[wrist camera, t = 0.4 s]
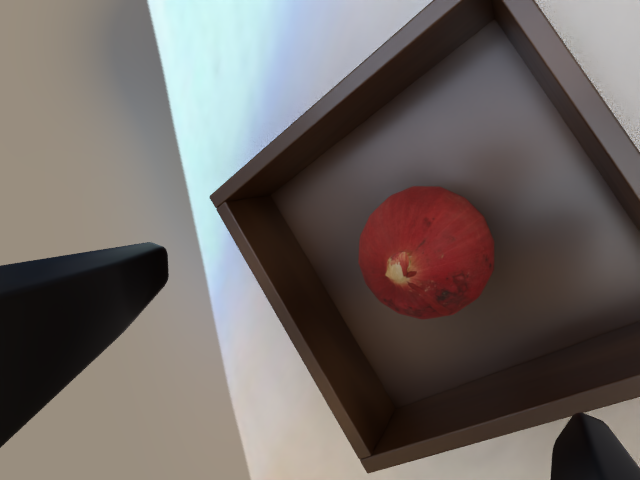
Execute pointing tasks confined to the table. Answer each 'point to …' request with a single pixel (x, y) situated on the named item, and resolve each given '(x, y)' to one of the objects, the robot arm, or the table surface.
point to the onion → (426, 252)
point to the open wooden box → (489, 199)
